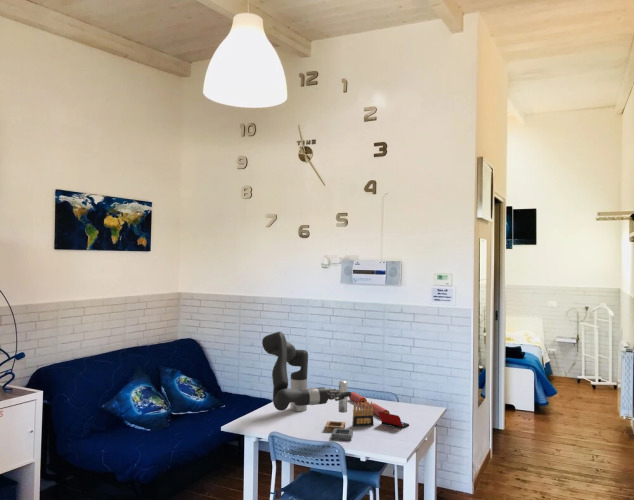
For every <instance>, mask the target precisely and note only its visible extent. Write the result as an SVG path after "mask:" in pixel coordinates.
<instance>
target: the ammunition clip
mask: <svg viewBox="0 0 634 500" xmlns="http://www.w3.org/2000/svg"><path fill="white" fill-rule="evenodd" d="M367 402H368V403H367V409H366V403H365V402H364V407H363V405H362V402H361V404H360V405H359V402H358V403H355V402H354V403H353V409H352V414H353V415H352V426H353V427H372V426H375V425H374V424H375V422H374V413H373V404H372V403H373V401H370V402H369V401H367ZM369 403H370V409H369Z"/></svg>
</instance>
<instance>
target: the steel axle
mask: <svg viewBox="0 0 634 500" xmlns="http://www.w3.org/2000/svg"><path fill="white" fill-rule="evenodd" d="M338 390H339V392H348V381H346V380H340V381H338ZM347 412H348V397H345V399H342V400H338V413H342V414H343V413H347Z"/></svg>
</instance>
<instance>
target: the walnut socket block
mask: <svg viewBox="0 0 634 500" xmlns="http://www.w3.org/2000/svg"><path fill="white" fill-rule="evenodd" d="M334 428H339V429H346V422H345V421H333V420H327V422H326V424H325V425H324V432H329V433H333V430H334Z"/></svg>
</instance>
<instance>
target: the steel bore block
mask: <svg viewBox="0 0 634 500" xmlns="http://www.w3.org/2000/svg"><path fill="white" fill-rule="evenodd" d="M353 436H354V429H351V428H345V429H339V428H334V430H333V432H331V440H335V441H352V438H353Z"/></svg>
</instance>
